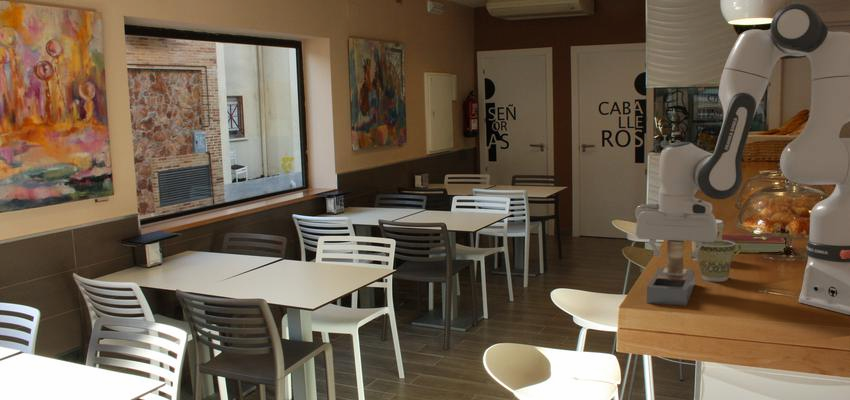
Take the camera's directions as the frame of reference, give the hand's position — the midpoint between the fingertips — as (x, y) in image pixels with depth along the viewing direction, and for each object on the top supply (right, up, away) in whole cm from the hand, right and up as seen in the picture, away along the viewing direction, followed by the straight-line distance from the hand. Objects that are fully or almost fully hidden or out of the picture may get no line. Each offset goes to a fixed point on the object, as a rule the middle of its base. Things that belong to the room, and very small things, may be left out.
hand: (675, 257), depth 201 cm
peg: (0, -4, 0) cm, 4 cm away
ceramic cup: (+15, -7, +9) cm, 18 cm away
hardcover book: (+38, -1, +46) cm, 60 cm away
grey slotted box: (-3, -9, -5) cm, 11 cm away
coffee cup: (+20, -3, +32) cm, 37 cm away
